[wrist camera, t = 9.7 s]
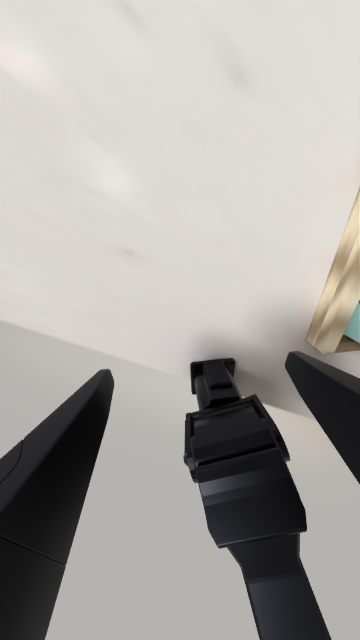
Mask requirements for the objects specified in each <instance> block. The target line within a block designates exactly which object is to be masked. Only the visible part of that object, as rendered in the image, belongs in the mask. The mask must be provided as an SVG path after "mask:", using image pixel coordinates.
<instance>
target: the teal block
mask: <svg viewBox="0 0 360 640" xmlns="http://www.w3.org/2000/svg"><path fill="white" fill-rule="evenodd" d="M343 334H345V335H346V336H348V337H350V338H351V339H353V340H355V341H357V342H358V343H360V300H359V302H358V304H357V306H356V308H355V310H354V312H353V315H352V317H351V319H350V321H349V323H348V325H347V327H346V329H345V331H344V333H343Z"/></svg>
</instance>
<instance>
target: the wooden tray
mask: <svg viewBox="0 0 360 640" xmlns="http://www.w3.org/2000/svg"><path fill="white" fill-rule="evenodd" d="M359 300H360V189H359V192H358V195H357V197H356V200H355V203H354V206H353V208H352V211H351V214H350V217H349V220H348V222H347V225H346V228H345V231H344V234H343V236H342V239H341V242H340V245H339V248H338V250H337V253H336V256H335V259H334V262H333V264H332V267H331V270H330V273H329V276H328V278H327V281H326V284H325V287H324V290H323V292H322V295H321V298H320V301H319V304H318V306H317V309H316V312H315V315H314V318H313V320H312V323H311V326H310V329H309V332H308V334H307V337H306V340H305V341H307V342H308V343H309V344H311V345H312V346H313V347H314V348H316V349H317V350H318V351H319V352H321V353H322V354H328V353H338V352H347V351H357V350H360V343H358V342H357V341H355V340H353V339H351V338H350V337H348V336H346V335H345V334H343V333H344V331H345V329H346V327H347V325H348V323H349V321H350V319H351V317H352V315H353V312H354V310H355V308H356V306H357V304H358V302H359Z"/></svg>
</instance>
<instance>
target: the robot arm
mask: <svg viewBox="0 0 360 640" xmlns="http://www.w3.org/2000/svg"><path fill="white" fill-rule="evenodd" d="M234 368H235V361H234V359H232V358H230V359H220V360H210V361H201V362H193V363H191V364H190V371H191V390H192V394H196V395H197V400H198V406H199V411H197V412H193V413H187V414H186V420H185V452H184V463H185V464H186V465H187V466H188V467H189V470H190V473H191V477H192V479H193V481H194V482H195V483H198V484H199V488H200V493H201V497H202V501H203V505H204V509H205V514H206V520H207V525H208V530H209V532H210V534H211V536H212V538H213V539H214V541H215V543H216V545H217V546H218V548H225V547H227V548H228V550H229V551H230V552H231V554H232V555H233V557H234V558H235V559H236V561H237V562H238V564H239V565H240V567H241V569H242V573H243V577H244V580H245V584H246V588H247V592H248V596H249V600H250V604H251V607H252V612H253V615H254V619H255V623H256V627H257V631H258V634H259V638H260V640H331V637H330V635H329V632H328V629H327V627H326V624H325V622H324V619H323V617H322V614H321V612H320V609H319V606H318V604H317V601H316V598H315V596H314V593H313V591H312V588H311V586H310V583H309V580H308V578H307V575H306V573H305V570H304V568H303V565H302V562H301V559H300V555H299V552H300V533H301V532H306V531H307V524H306V513H305V508H304V506H303V504H302V502H301V499H300V496H299V493H298V491H297V488H296V486H295V484H294V481H293V479H292V477H291V474H290V472H289V469H288V467H287V464H286V462H287V461H290V456H289V453H288V450H287V447H286V445H285V442H284V440H283V438H282V436H281V434H280V432H279V430H278V428H277V426H276V424H275V423H274V421H273V420H272V418H271V417H270V415H269V414H268V412H267V411H266V409H265V408H264V406H263V405H262V403H261V402H260V400H259V399H258V397H257V396H256V394H254V395H251V396H250V397H246V398H243V399H242V397H241V394H240V392H239V390H238V388H237V386H236V383H235V381H234V379H233V376H234ZM285 368H286V370H287V372H288V374H289V376H290V377H291V379H292V381H293V383H294V385H295V387H296V388H297V390H298V392H299V394H300V396H301V397H302V399H303V400H304V402H305V403H306V405H307V406H308V408H309V409H310V411H311V412H312V414H313V415H314V417H315V418H316V420H317V421H318V423H319V424H320V425H321V427H322V429H323V430H324V432H325V433H326V435H327V436H328V438H329V439H330V440H331V442H332V444H333V445H334V447H335V448H336V450H337V451H338V452H339V454H340V456H341V457H342V458H343V460H344V462H345V463H346V465H347V466H348V468H349V469H350V470H351V472H352V473H353V475H354V476H355V478H356V479H357V481H358V482H359V484H360V379H359V378H357V377H355V376H353V375H351V374H348V373H346V372H344V371H342V370H339V369H337V368H335V367H333V366H330V365H328V364H326V363H324V362H321V361H319V360H317V359H315V358H313V357H310V356H308V355H306V354H304V353H301V352H299V351H294V352H289V353H288V356H287V359H286V362H285ZM113 389H114V380H113V376H112V374H111V371H110V369H102V370H100V371H98V372H97V373H96V374H95V375H94V376H93V377H92V378H91V379H89V380H88V381H87V382H86V383H85V384H84V385H83V386H82V387H80V388H79V389H78V390H77V391H76V392H75V393H74V394H73V395H72V396H70V397H69V398H68V399H67V400H66V401H65V402H64V403H63V404H61V405H60V406H59V407H58V408H57V409H56V410H55V411H54V412H53V413H51V414H50V415H49V416H48V417H47V418H46V419H45V420H44V421H42V422H41V423H40V424H39V425H38V426H37V427H36V428H35V429H34V430H32V431H31V433H29V434H28V435H27V436H26V437H25V438H24V440H21V441H20V442H19V443H18V444H17V445H16V446H14V447H13V448H12V449H11V450H10V451H9V452H8V453H7V454H6V455H4V456H3V457H2V458H1V459H0V640H45V637H46V634H47V630H48V627H49V623H50V620H51V616H52V613H53V609H54V606H55V602H56V599H57V595H58V592H59V588H60V585H61V581H62V577H63V574H64V571H65V567H66V566H65V565H66V563H67V559H68V556H69V553H70V549H71V546H72V542H73V539H74V535H75V532H76V528H77V525H78V522H79V518H80V514H81V511H82V507H83V504H84V501H85V497H86V493H87V490H88V487H89V483H90V480H91V476H92V472H93V469H94V466H95V462H96V459H97V455H98V452H99V448H100V445H101V441H102V438H103V434H104V431H105V427H106V424H107V420H108V416H109V411H110V406H111V400H112V394H113Z"/></svg>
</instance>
